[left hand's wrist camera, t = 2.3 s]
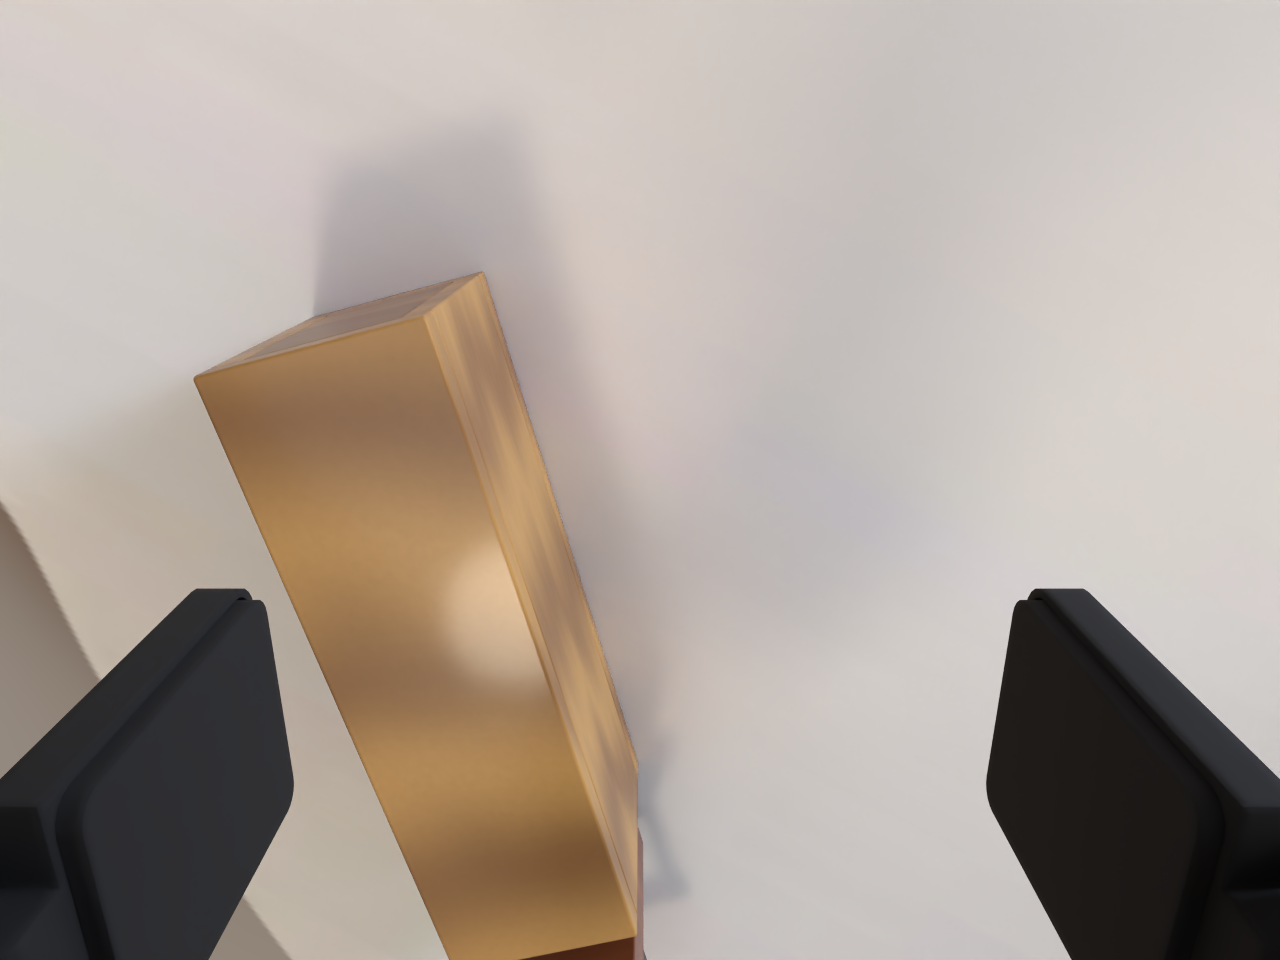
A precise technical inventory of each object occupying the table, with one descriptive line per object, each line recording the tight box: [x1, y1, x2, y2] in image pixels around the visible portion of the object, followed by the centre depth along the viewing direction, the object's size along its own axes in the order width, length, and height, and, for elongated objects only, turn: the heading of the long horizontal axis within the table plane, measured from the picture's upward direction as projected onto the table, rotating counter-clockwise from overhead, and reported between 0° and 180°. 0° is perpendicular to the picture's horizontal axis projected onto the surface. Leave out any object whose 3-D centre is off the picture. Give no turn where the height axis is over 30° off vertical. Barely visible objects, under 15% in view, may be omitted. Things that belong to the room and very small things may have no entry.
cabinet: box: [194, 272, 638, 960], centre depth 29 cm, size 20×6×9 cm, turn 15°
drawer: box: [520, 829, 647, 960], centre depth 31 cm, size 25×5×7 cm, turn 15°
